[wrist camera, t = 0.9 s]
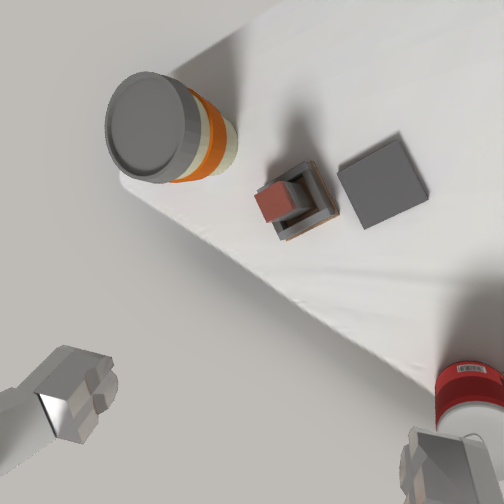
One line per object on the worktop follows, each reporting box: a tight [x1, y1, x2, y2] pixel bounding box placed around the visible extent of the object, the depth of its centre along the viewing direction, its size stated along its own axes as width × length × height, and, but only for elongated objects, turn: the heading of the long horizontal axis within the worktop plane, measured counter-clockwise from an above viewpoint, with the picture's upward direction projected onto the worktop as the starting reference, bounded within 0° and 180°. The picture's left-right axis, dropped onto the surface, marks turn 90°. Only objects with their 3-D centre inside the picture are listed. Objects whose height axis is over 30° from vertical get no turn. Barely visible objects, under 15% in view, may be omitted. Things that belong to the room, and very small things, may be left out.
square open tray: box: [257, 161, 339, 241], centre depth 48 cm, size 8×8×4 cm
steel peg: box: [254, 181, 315, 223], centre depth 45 cm, size 4×4×9 cm
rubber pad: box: [337, 139, 428, 230], centre depth 45 cm, size 8×8×1 cm
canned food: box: [435, 361, 504, 482], centre depth 39 cm, size 8×8×11 cm
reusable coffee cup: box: [105, 72, 238, 184], centre depth 48 cm, size 13×13×15 cm
